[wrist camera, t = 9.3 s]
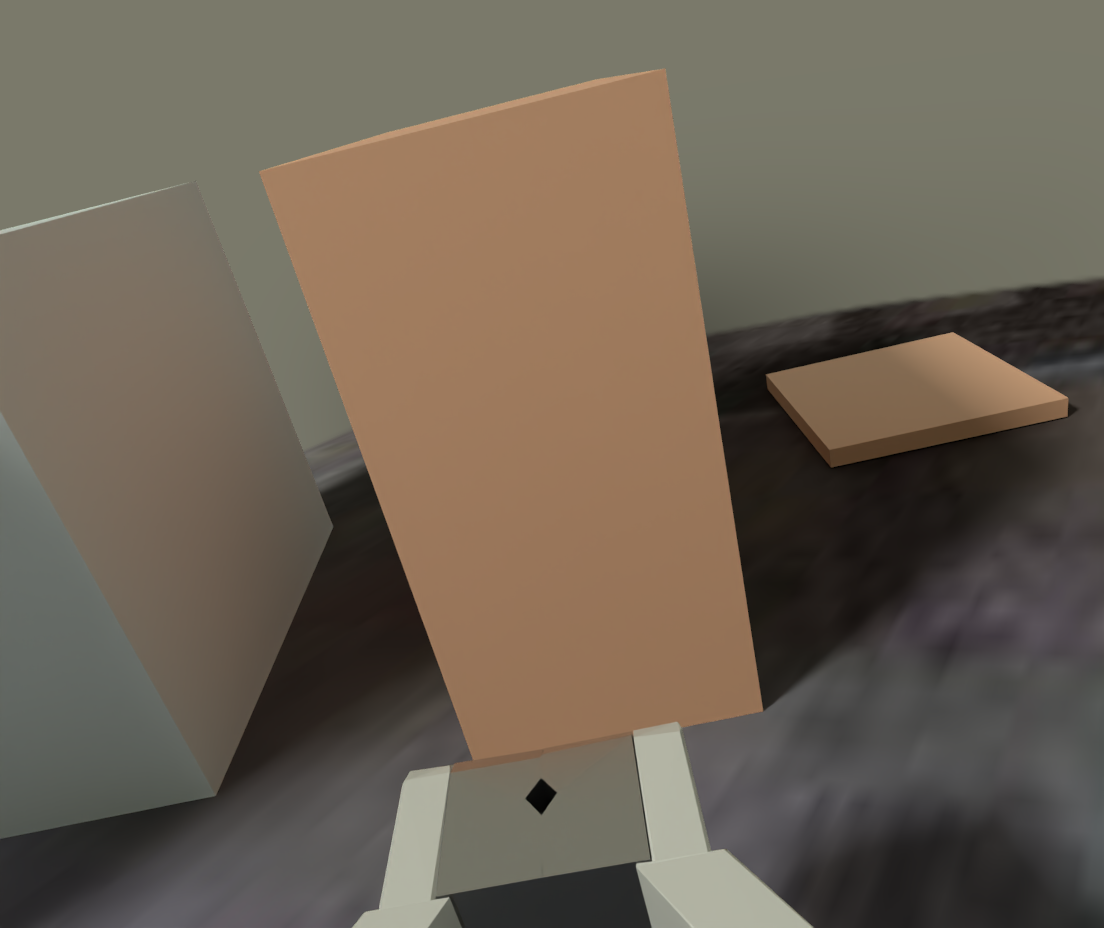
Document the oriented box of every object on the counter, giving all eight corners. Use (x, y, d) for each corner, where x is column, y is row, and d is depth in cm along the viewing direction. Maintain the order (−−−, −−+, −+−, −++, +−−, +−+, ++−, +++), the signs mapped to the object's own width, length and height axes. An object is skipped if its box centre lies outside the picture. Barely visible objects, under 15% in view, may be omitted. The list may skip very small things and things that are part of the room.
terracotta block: (667, 463, 27) (596, 79, 22) (763, 712, 16) (665, 68, 11) (495, 501, 28) (387, 132, 23) (476, 768, 17) (259, 171, 12)
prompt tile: (953, 347, 30) (952, 332, 30) (1067, 416, 24) (1068, 397, 24) (767, 389, 31) (765, 374, 30) (831, 467, 24) (829, 449, 24)
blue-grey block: (333, 527, 29) (195, 180, 24) (216, 796, 18) (-86, 258, 13) (174, 563, 29) (5, 229, 24) (-36, 847, 18) (-426, 344, 13)
